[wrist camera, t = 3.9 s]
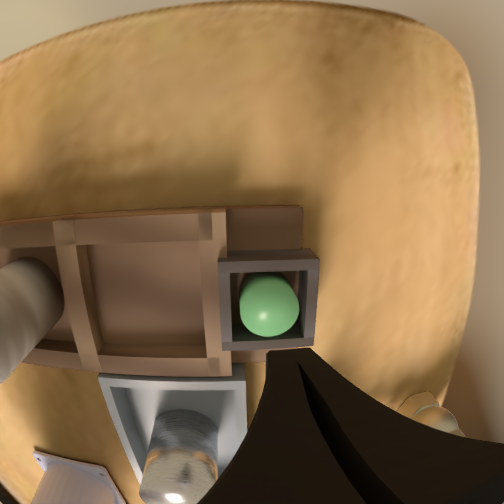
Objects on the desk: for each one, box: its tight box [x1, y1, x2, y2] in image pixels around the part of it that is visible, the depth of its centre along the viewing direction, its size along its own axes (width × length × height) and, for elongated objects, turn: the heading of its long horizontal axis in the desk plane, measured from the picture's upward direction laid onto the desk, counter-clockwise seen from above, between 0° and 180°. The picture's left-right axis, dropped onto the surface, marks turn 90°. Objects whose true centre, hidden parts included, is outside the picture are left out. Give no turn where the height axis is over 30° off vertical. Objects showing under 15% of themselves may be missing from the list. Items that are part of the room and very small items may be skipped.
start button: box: [239, 271, 299, 337], centre depth 15 cm, size 3×3×2 cm
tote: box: [98, 363, 247, 485], centre depth 18 cm, size 12×8×2 cm
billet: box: [139, 409, 218, 504], centre depth 16 cm, size 4×4×6 cm
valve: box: [396, 391, 465, 437], centre depth 17 cm, size 7×7×12 cm
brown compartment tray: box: [0, 205, 320, 383], centre depth 13 cm, size 8×20×7 cm, turn 90°
